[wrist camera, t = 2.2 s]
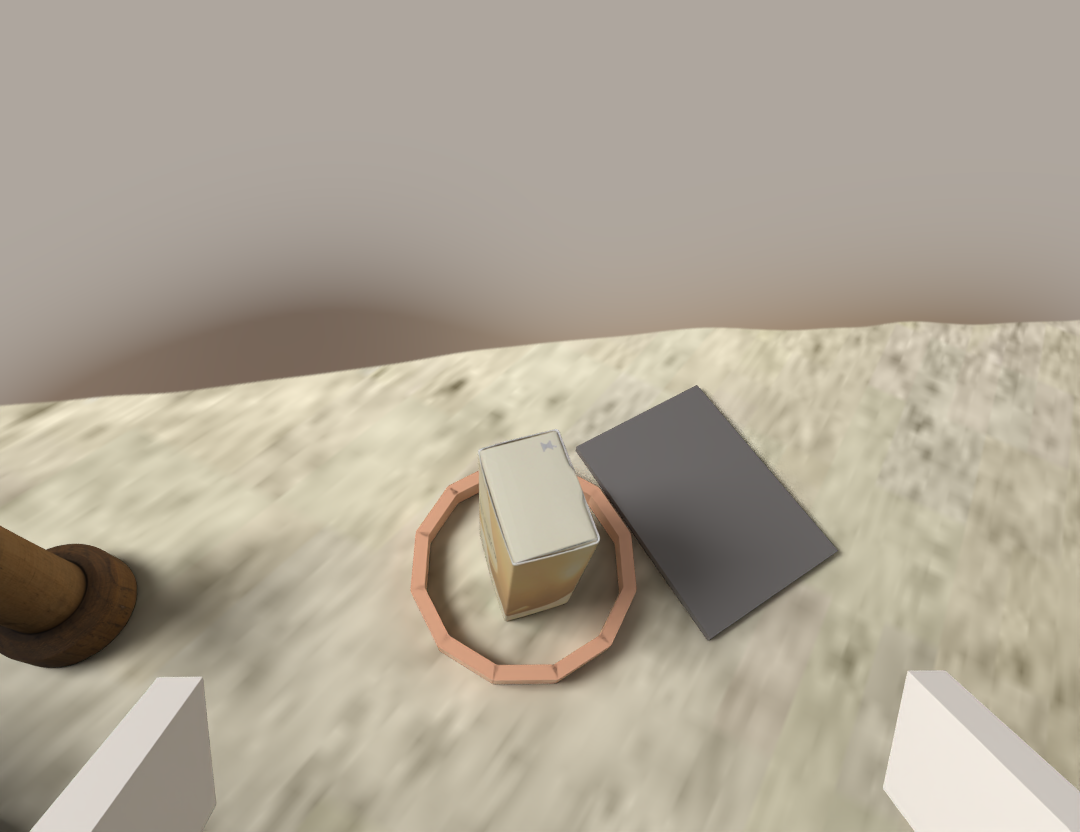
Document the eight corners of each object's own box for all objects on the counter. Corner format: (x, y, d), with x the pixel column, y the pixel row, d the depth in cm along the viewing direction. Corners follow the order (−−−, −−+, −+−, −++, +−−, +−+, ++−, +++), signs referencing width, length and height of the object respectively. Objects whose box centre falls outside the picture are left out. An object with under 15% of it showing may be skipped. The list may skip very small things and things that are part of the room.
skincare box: (477, 531, 40) (472, 442, 29) (540, 513, 41) (557, 421, 30) (505, 628, 37) (510, 568, 26) (572, 607, 38) (603, 540, 27)
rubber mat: (694, 389, 47) (696, 384, 46) (833, 553, 40) (838, 550, 40) (575, 450, 43) (576, 446, 43) (707, 640, 37) (710, 638, 36)
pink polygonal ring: (557, 440, 44) (559, 430, 42) (672, 607, 38) (678, 601, 37) (380, 529, 39) (376, 521, 38) (479, 732, 34) (479, 731, 32)
